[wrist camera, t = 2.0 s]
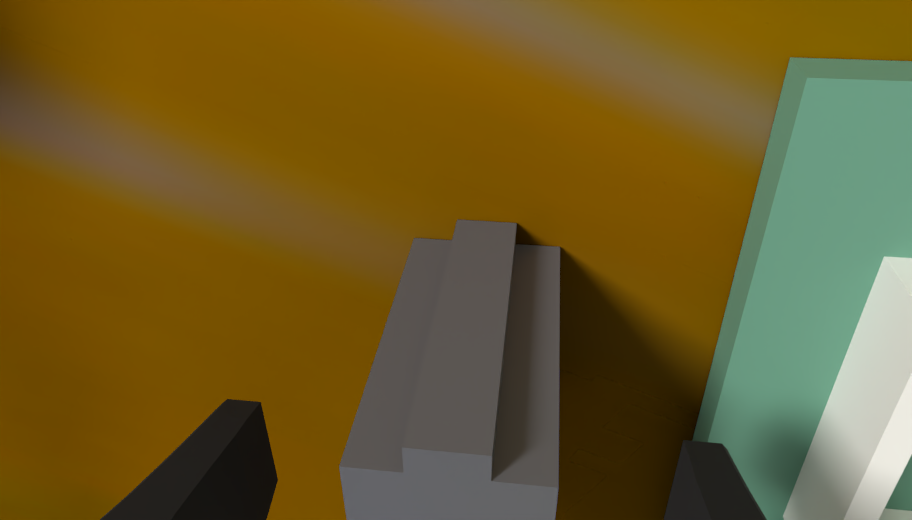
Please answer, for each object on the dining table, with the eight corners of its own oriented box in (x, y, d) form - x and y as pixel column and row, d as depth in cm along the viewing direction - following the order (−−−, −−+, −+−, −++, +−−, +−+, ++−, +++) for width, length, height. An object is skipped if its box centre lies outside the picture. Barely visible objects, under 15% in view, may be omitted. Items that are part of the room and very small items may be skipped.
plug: (538, 486, 19) (529, 742, 14) (425, 475, 19) (376, 721, 14) (562, 225, 14) (561, 462, 9) (413, 216, 15) (335, 441, 10)
